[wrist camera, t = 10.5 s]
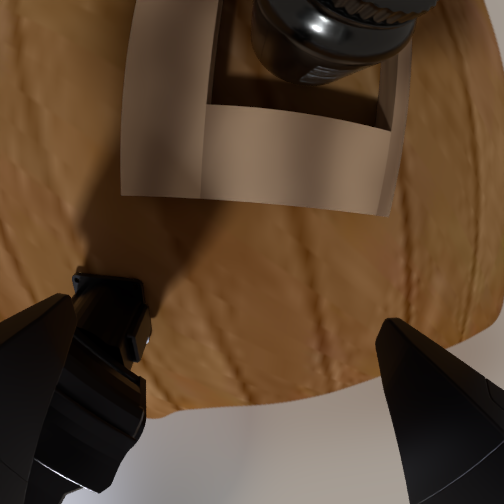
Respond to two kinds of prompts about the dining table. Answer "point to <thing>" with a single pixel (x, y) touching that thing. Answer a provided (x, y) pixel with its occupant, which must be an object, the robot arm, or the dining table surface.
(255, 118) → the tan flat square frame
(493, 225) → the dining table surface
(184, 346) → the dining table surface
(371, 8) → the supplement bottle
